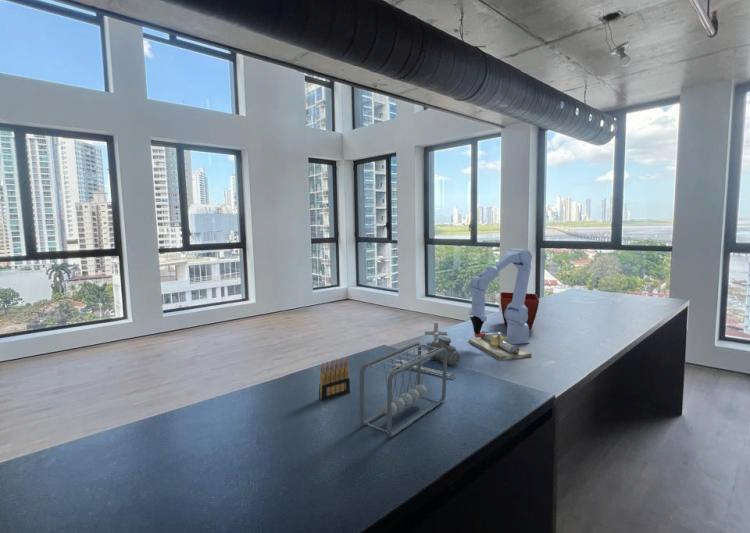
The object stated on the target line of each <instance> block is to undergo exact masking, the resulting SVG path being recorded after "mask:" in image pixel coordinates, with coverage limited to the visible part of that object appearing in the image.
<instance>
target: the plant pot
mask: <svg viewBox="0 0 750 533" xmlns="http://www.w3.org/2000/svg"><path fill="white" fill-rule="evenodd" d="M513 293H514V292H505V291H504V292H503V291H502V292H500V293H499V294H500V307H501V313H502V318H503V323H504V327H505V328H506V329H507V324H508V322H507V320H506V319H505V317H504V313H505V310H506V309H507V305H508V304H509V303H511V302H512V299H513ZM539 303H540V299H539V297H538V295H537V294H536V293H527V292H526V296H525V302H524V305H525V306H526V307H527V309H528V312H527V314H528V320H527V322H526V324H527V325H528V327H529V330H532V327H533V325H534V322H535V321H536V317H537V313H538V309H539ZM515 309H516V308H515ZM517 310H518V309H517Z"/></svg>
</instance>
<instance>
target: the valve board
mask: <svg viewBox="0 0 750 533" xmlns="http://www.w3.org/2000/svg"><path fill="white" fill-rule="evenodd" d="M468 343H470V344H471V345H473V346H475V347H477V348H479V349H481V351H484V352H485V353H487V354H489V355H491V356H492V357H494V358H495V359H498V360H499V361H503V360H515V359H526V358H532V353H531V352H529V351H527V350H525V349H523V348H521V347H519V346H517V347H518V348H519V353H518V354H516V355H512V354H511V353H510V352H508V351H506V350H505V349H503V348H497V347H495V346H493V345H491V342H489V341H488V340H486V339H482V338H481V337H479V338H477V337H475V338H468ZM507 343H508V344H510V345H512V346H516V344H511V343H509V342H507Z"/></svg>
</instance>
